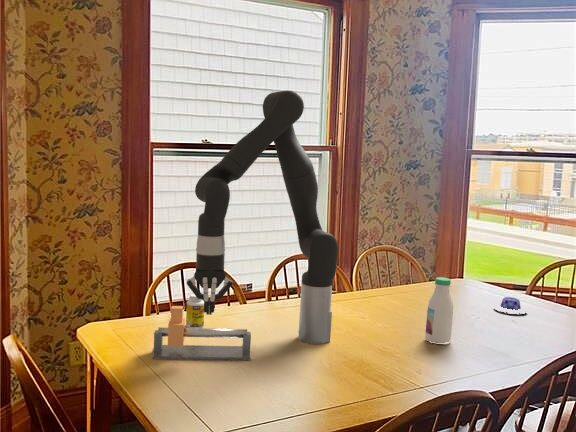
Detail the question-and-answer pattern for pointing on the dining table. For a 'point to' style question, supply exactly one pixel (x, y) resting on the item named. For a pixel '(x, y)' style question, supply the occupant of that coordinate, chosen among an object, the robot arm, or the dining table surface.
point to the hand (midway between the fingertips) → (208, 313)
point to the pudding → (510, 303)
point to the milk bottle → (440, 313)
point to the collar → (176, 327)
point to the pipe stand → (203, 351)
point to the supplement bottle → (195, 312)
